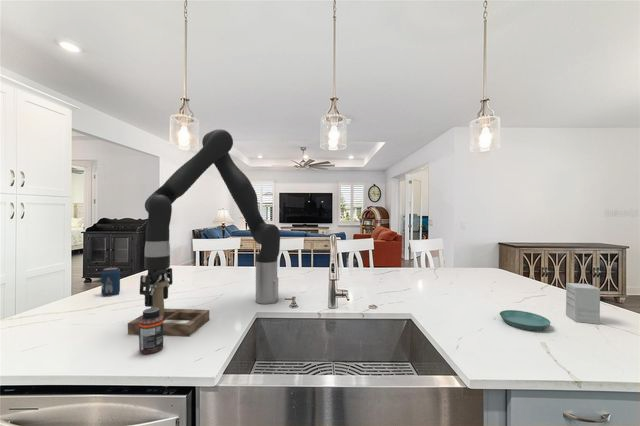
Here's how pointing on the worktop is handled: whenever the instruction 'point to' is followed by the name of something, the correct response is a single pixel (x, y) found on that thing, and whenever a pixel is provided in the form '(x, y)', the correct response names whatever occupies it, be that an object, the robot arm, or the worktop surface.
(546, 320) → the saucer
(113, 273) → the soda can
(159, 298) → the handle
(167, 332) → the brown wooden frame
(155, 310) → the supplement bottle
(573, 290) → the supplement box
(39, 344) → the worktop surface
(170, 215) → the robot arm
